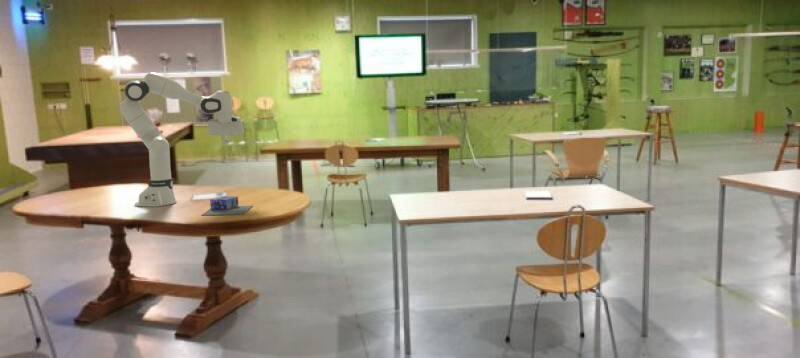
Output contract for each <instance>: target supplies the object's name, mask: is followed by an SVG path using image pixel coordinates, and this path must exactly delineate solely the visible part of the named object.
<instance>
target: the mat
mask: <svg viewBox="0 0 800 358" xmlns="http://www.w3.org/2000/svg"><path fill="white" fill-rule="evenodd" d="M252 208H253V205H238V206H236V207H232V208H229V209H226V210H219V209H211V207H210V208H209V209H208V210H207V211H204V213H202V214H201V217H203V216H205V217H206V216H207V217H208V216H243V215H245V214H246V213H247V212H249V210H251V209H252Z"/></svg>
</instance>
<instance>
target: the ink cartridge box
mask: <svg viewBox="0 0 800 358" xmlns="http://www.w3.org/2000/svg"><path fill="white" fill-rule="evenodd" d="M209 204H210V208H211V209H219V210H226V209H229V208H232V207H236V206H239V196H232V195H223V196H219V197H215V198H211V199H209Z"/></svg>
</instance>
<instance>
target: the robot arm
mask: <svg viewBox="0 0 800 358" xmlns="http://www.w3.org/2000/svg"><path fill="white" fill-rule="evenodd" d="M149 93H154V94H156V95H158V96H160V97H163V98H167V99H170V100H179V101H184V102H186V103H189V104H191V105H194V106H195V107H197V108H198V109H199V110H200V111H201V112H203V114H208V115H212V114H214V113H216V115H217V118H214V119H213V118H212V119H211V118H210V119H209V120H208V121H207V125H208V135H209V136H221V137H222V139H223V142H224V143H230V142H231V138H232V135H243V134H244V133H245V127H244V123H243V122H242V117H240V116H236V115H234V113H233V100H232V99H233V98H232V95H231V93H230V92H228V91H225V90H217V91H216V92H215V93H213V94H210V95H206V96H205V95H199V94H197V93H194V92H193V91H190V90H188V89H186V88H184V87H183V86H182V85H181V84H180V82H178V81H176V80H174V79H172V78H170V77H167V76H166V75H162V74H160V73H158V72H151V71H150V72H148V73H146V75H145V76H144V78H143V79H142V80H139V79H133V80H132V79H131V80H130V81H129V82H127V83H126V84H125V87H124V94H125V96H126V98H125V99H124V100H123V101H121V102H120V104H119V110H120V112H121V115H122V116H123V117H124V119H125V121H126V122H127V123H128V124H129V126H130V128H132V130H133V132H134V133H135V134H136V135H137V136H138V137H139V139H140V140H141V142H142V143H143V144H144V145H145V147H146V148H147V149H148V158H149V172H150V173H149V175H150V179H149V180H148V181H147V182H146V184H147V185H148V186H147V187H145V189H144V190H142V191H141V192H140V193H139V195H138V201H137V202H135V203H134V207H163V206H167V205H168V206H169V205H174V204H176V203H177V200H176V197H175V194H174V193H175V192H174V181H173V178H172V171H171V149H170V143H169V141H168V140H167V139H166V138H165V136H164V135H163V133H161V131H160V130H159V128H158V127H157V125H156V124H155V123H154V121H153V120H152V119H151V117H150V116H149V115H148V114H147V112H146V111H145V109H144V107H143V106H142V104H141V101H142V100H143V99H144V98H145V97H146V96H147V95H148V94H149ZM226 136H227V137H228V138H226Z"/></svg>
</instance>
